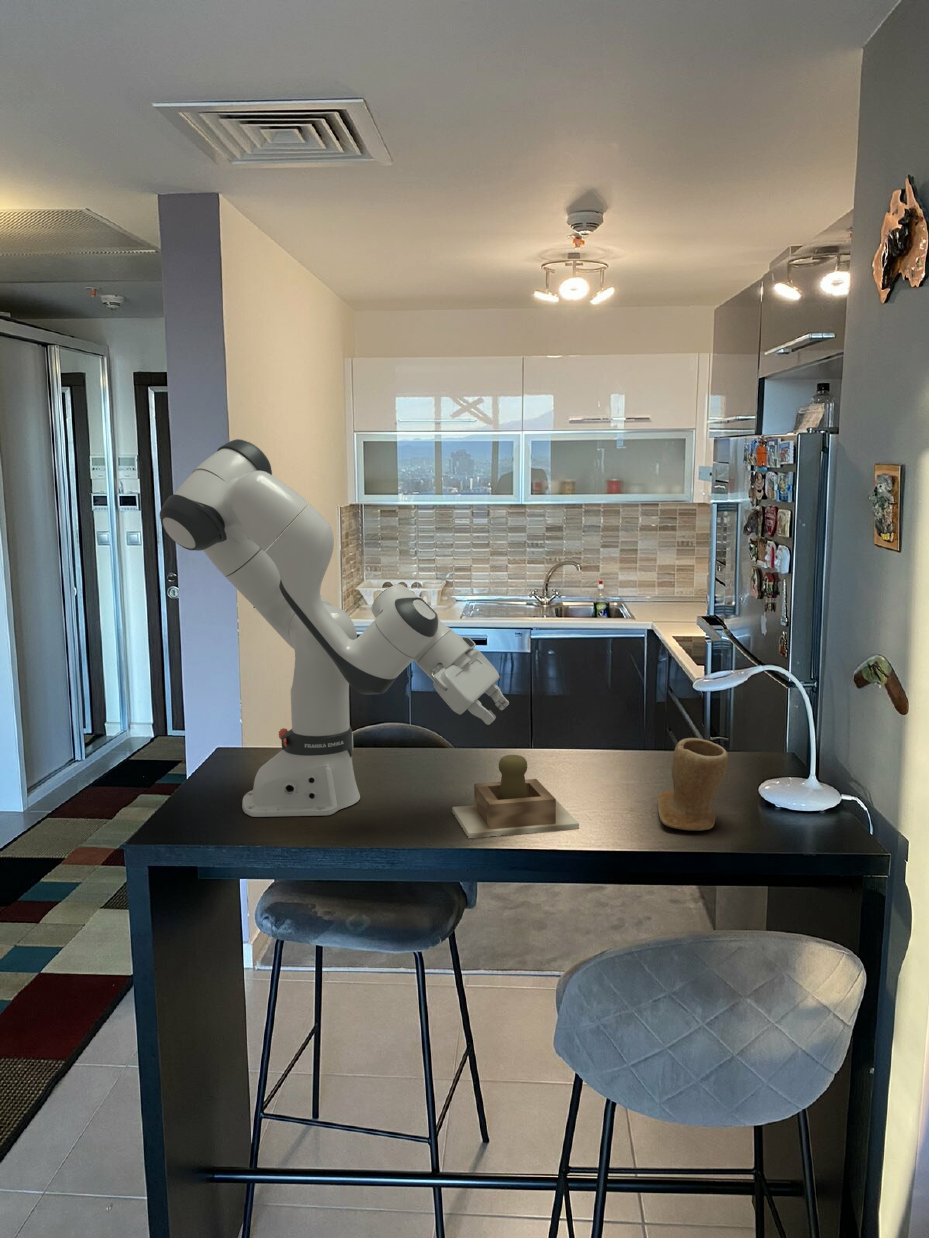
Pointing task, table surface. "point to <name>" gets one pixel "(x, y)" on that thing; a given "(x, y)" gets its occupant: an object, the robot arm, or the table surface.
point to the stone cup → (693, 785)
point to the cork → (512, 777)
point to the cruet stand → (512, 812)
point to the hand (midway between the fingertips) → (499, 714)
